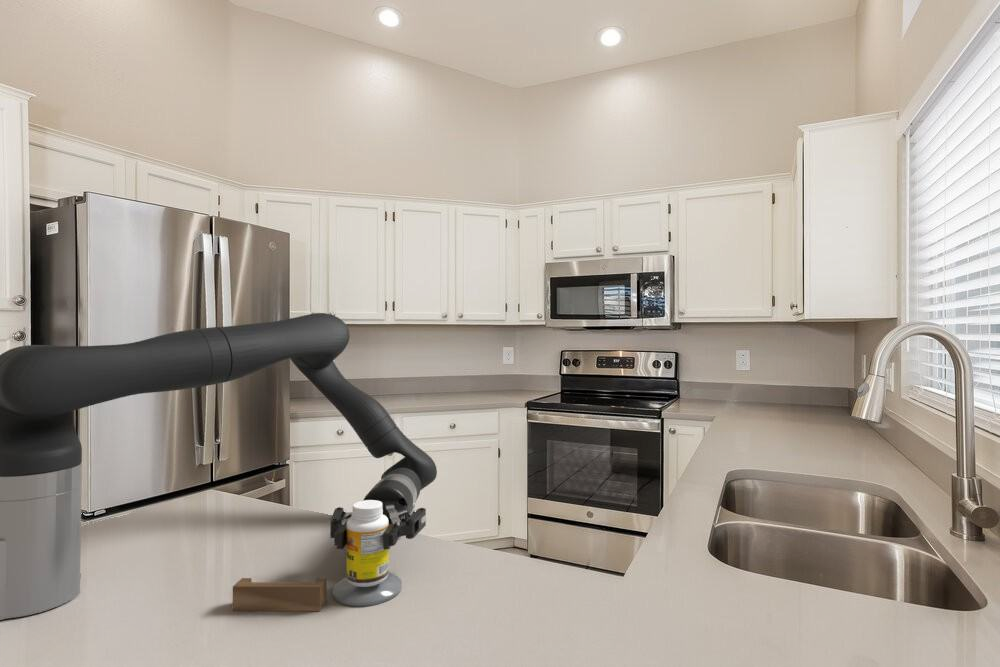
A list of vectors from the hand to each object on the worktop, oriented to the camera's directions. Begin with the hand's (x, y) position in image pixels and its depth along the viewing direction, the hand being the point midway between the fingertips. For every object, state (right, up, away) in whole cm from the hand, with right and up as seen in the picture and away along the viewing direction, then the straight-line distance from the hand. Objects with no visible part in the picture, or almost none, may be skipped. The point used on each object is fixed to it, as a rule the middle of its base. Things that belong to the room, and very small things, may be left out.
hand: (362, 541), depth 70 cm
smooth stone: (0, -7, +2) cm, 8 cm away
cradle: (-10, -7, -2) cm, 13 cm away
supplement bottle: (0, -6, +3) cm, 7 cm away
